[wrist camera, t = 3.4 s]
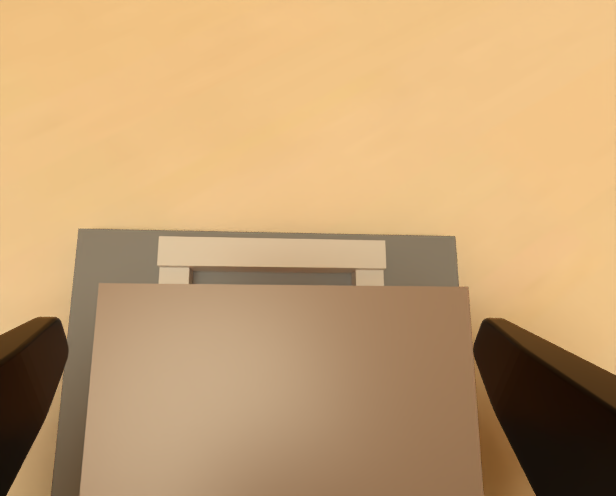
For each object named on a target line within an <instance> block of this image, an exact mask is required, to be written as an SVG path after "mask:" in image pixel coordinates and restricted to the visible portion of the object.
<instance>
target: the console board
mask: <svg viewBox="0 0 616 496" xmlns="http://www.w3.org/2000/svg"><path fill="white" fill-rule="evenodd" d="M99 283H134V284H235V285H336V286H437V287H459V281H458V267H457V253H456V239H455V236H415V235H366V234H317V233H267V232H218V231H169V230H120V229H79V230H78V240H77V249H76V259H75V269H74V278H73V288H72V298H71V307H70V317H69V327H68V336H67V343H68V347H69V354H68V359H67V362H66V365H65V367H64V375H63V385H62V394H61V404H60V414H59V423H58V433H57V443H56V452H55V462H54V471H53V481H52V491H51V496H79V495H80V484H81V473H82V462H83V451H84V440H85V429H86V419H87V408H88V397H89V386H90V375H91V364H92V353H93V342H94V331H95V321H96V310H97V299H98V288H99Z"/></svg>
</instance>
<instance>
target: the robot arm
mask: <svg viewBox="0 0 616 496" xmlns="http://www.w3.org/2000/svg"><path fill="white" fill-rule="evenodd" d="M473 353H474V357H475V360H476V363H477V366H478V369H479V371H480V374H481V377H482V380H483V383H484V385H485V388H486V391H487V394H488V396H489V399H490V402H491V404H492V407H493V409H494V412H495V414H496V416H497V418H498V420H499V422H500V424H501V426H502V428H503V430H504V432H505V434H506V436H507V438H508V440H509V442H510V444H511V446H512V448H513V450H514V452H515V454H516V456H517V458H518V460H519V463H520V465H521V467H522V469H523V471H524V473H525V475H526V477H527V479H528V481H529V483H530V485H531V487H532V489H533V491H534V493H535V495H536V496H616V375H614V374H612V373H610V372H608V371H606V370H604V369H602V368H600V367H598V366H596V365H594V364H592V363H590V362H588V361H586V360H584V359H582V358H580V357H578V356H576V355H574V354H572V353H570V352H568V351H566V350H564V349H562V348H560V347H558V346H556V345H554V344H553V343H551V342H549V341H547V340H545V339H543V338H541V337H539V336H537V335H535V334H533V333H531V332H529V331H527V330H525V329H523V328H521V327H519V326H517V325H515V324H513V323H511V322H509V321H507V320H505V319H502V318H486V319H484V320H483V321H482V323H481V326H480V329H479V331H478V334H477V337H476V340H475V343H474V347H473ZM68 354H69V347H68V343H67V339H66V336H65V333H64V329H63V326H62V323H61V321H60V319H59V318H57V317H37V318H34V319H32V320H30V321H28V322H26V323H24V324H22V325H20V326H18V327H16V328H14V329H12V330H10V331H8V332H6V333H4V334H2V335H0V496H6V495H7V493H8V491H9V489H10V487H11V485H12V484H13V482H14V480H15V478H16V476H17V474H18V472H19V470H20V468H21V466H22V464H23V462H24V460H25V458H26V456H27V454H28V452H29V450H30V448H31V446H32V444H33V442H34V441H35V439H36V437H37V435H38V433H39V431H40V429H41V427H42V425H43V423H44V420H45V418H46V416H47V413H48V411H49V408H50V406H51V403H52V400H53V397H54V395H55V392H56V389H57V387H58V384H59V381H60V378H61V376H62V373H63V370H64V367H65V365H66V362H67V359H68Z"/></svg>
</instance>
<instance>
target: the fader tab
mask: <svg viewBox="0 0 616 496" xmlns="http://www.w3.org/2000/svg"><path fill="white" fill-rule="evenodd" d="M79 496H484V492H483V479H482V465H481V452H480V439H479V425H478V412H477V398H476V385H475V371H474V358H473V344H472V331H471V318H470V304H469V291H468V287H437V286H336V285H235V284H134V283H99V288H98V299H97V310H96V321H95V331H94V342H93V353H92V364H91V375H90V386H89V397H88V408H87V419H86V429H85V440H84V451H83V462H82V473H81V484H80V495H79Z"/></svg>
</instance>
